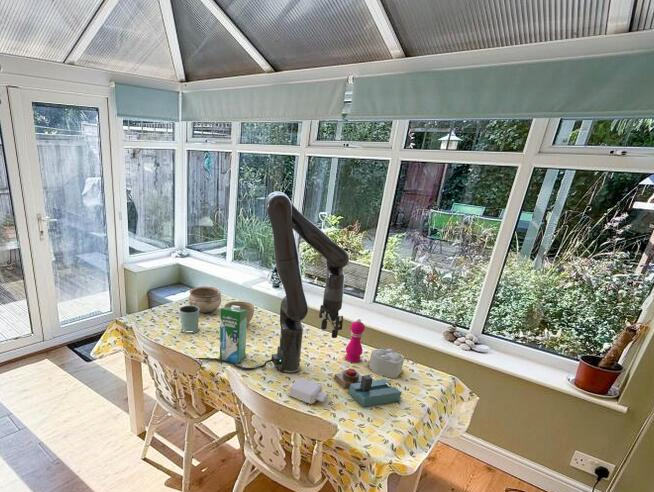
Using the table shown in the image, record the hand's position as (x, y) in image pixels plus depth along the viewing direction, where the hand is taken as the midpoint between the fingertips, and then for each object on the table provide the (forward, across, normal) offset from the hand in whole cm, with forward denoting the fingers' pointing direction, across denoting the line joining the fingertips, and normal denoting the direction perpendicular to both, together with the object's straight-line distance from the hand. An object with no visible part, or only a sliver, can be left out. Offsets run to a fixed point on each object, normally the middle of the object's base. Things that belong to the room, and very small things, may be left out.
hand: (328, 333), depth 172 cm
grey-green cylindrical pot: (+17, -55, -48) cm, 75 cm away
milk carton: (+17, -21, -35) cm, 45 cm away
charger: (+18, +18, -16) cm, 30 cm away
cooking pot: (+17, -79, -34) cm, 88 cm away
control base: (+18, +24, +8) cm, 31 cm away
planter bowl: (+18, -55, -21) cm, 61 cm away
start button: (+14, +12, +5) cm, 19 cm away
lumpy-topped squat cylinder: (+18, +7, +25) cm, 32 cm away
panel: (+18, +12, +5) cm, 22 cm away
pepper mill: (+18, -5, +17) cm, 25 cm away
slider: (+14, +24, +4) cm, 28 cm away
